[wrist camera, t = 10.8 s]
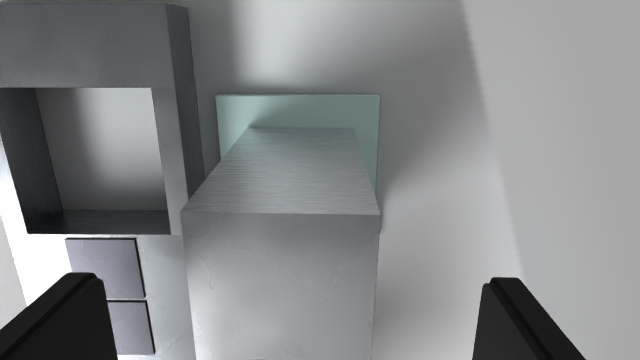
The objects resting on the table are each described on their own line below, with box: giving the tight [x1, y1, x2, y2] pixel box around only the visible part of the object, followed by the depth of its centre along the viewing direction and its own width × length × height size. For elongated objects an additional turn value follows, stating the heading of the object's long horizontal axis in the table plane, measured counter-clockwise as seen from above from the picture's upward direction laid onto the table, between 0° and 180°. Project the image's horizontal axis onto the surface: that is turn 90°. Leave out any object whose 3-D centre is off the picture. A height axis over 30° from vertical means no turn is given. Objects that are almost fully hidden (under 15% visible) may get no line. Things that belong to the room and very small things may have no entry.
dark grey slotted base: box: [0, 4, 205, 360], centre depth 18 cm, size 16×8×3 cm, turn 0°
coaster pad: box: [215, 94, 380, 195], centre depth 19 cm, size 7×7×1 cm
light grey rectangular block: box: [180, 126, 381, 360], centre depth 14 cm, size 5×5×9 cm
